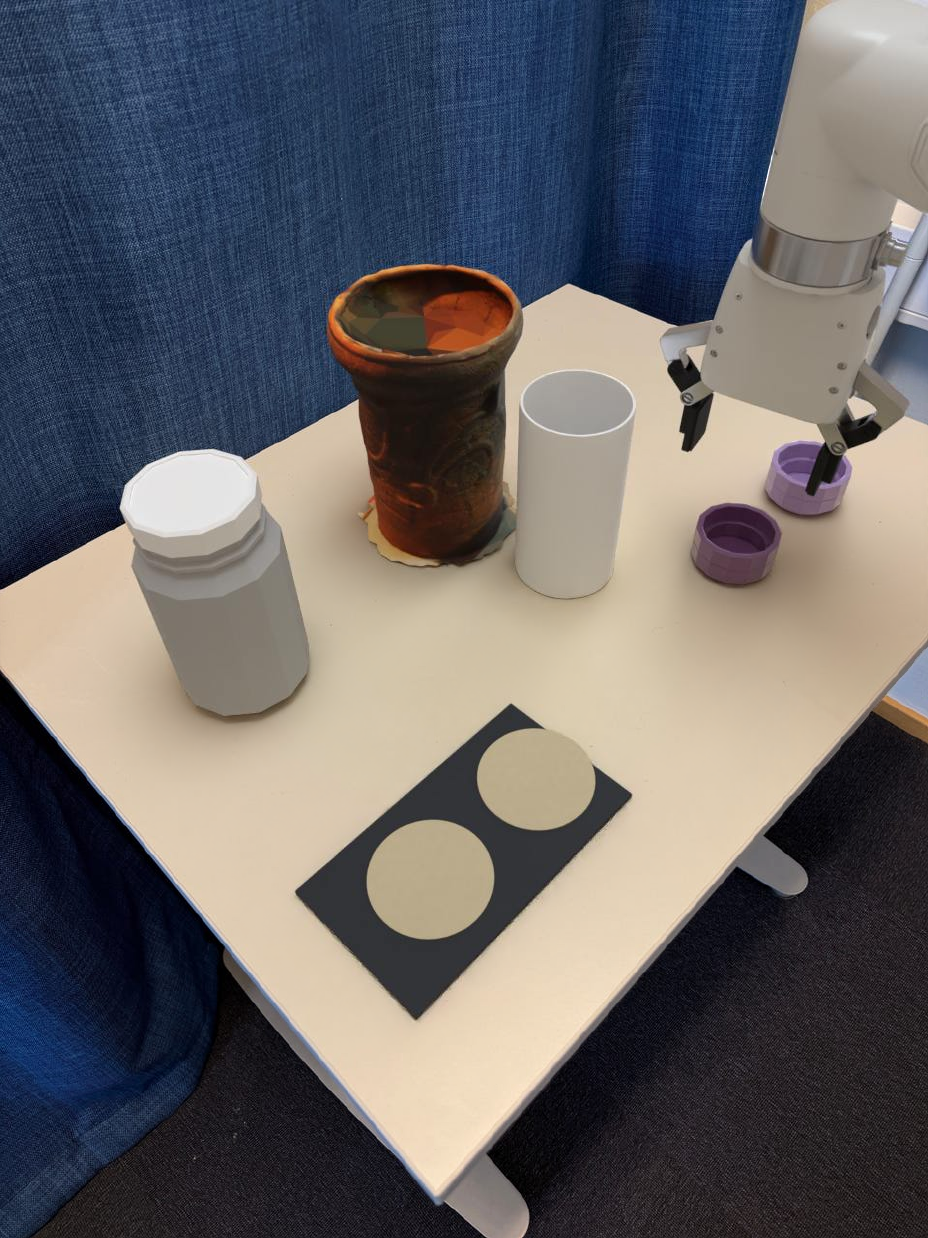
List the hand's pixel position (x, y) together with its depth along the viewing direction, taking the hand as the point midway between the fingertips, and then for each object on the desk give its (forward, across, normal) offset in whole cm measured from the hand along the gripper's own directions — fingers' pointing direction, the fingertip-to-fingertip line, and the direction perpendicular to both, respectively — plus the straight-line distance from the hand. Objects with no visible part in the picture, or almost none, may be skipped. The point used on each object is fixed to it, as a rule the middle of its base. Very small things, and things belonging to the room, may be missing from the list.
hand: (752, 462), depth 68 cm
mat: (+10, +4, +34) cm, 35 cm away
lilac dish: (+10, -3, -11) cm, 15 cm away
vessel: (+10, +24, +8) cm, 27 cm away
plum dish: (+10, 0, 0) cm, 10 cm away
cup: (+10, +11, +8) cm, 17 cm away
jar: (+10, +26, +30) cm, 41 cm away
